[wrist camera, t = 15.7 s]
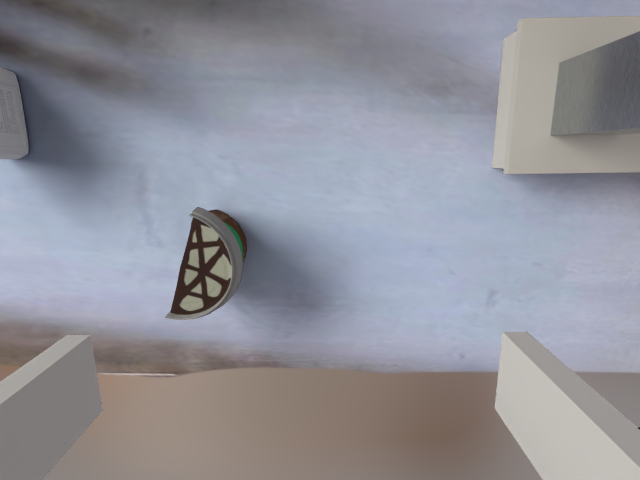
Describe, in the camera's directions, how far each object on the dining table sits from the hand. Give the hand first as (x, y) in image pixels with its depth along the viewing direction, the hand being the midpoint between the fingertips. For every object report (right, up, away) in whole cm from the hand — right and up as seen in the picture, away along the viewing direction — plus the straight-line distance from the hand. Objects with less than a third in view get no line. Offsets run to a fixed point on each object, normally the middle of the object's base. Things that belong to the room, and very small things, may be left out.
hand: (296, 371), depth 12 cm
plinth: (+28, +20, +31) cm, 46 cm away
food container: (-11, +3, +35) cm, 37 cm away
